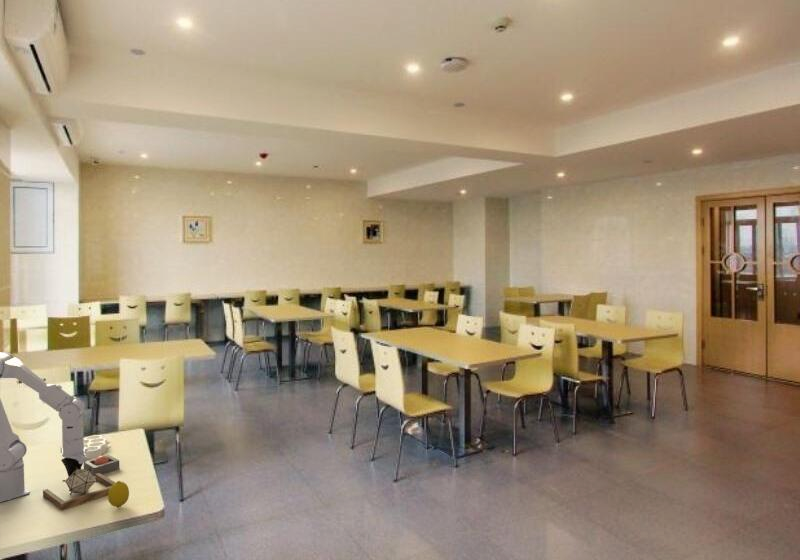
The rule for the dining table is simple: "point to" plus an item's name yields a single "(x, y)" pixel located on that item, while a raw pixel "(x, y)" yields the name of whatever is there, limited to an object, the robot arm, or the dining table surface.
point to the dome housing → (102, 466)
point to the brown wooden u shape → (81, 499)
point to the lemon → (118, 494)
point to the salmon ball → (101, 460)
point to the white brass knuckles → (95, 446)
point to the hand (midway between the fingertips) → (73, 479)
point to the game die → (80, 481)
